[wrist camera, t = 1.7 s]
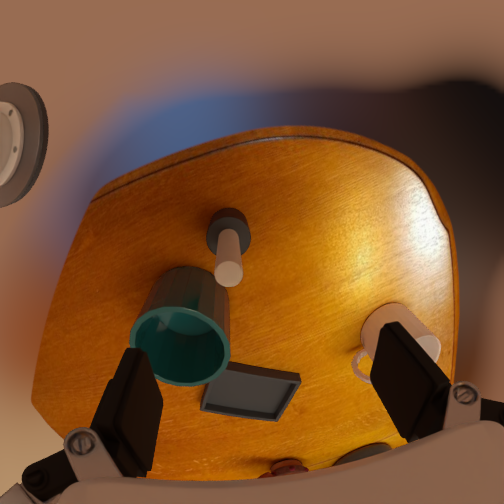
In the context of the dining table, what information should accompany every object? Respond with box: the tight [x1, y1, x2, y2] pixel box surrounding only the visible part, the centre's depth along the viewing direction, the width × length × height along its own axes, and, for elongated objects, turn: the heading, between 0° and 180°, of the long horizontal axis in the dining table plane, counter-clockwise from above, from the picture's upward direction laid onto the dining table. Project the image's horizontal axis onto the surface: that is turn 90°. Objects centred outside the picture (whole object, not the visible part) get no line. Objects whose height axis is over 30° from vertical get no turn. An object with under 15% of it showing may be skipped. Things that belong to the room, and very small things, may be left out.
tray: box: [200, 361, 302, 422], centre depth 41 cm, size 13×10×2 cm
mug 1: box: [257, 460, 309, 479], centre depth 44 cm, size 15×8×15 cm, turn 54°
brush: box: [206, 208, 251, 287], centre depth 27 cm, size 4×4×14 cm
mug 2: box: [351, 303, 441, 384], centre depth 36 cm, size 12×9×9 cm
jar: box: [129, 266, 231, 387], centre depth 31 cm, size 10×10×10 cm
